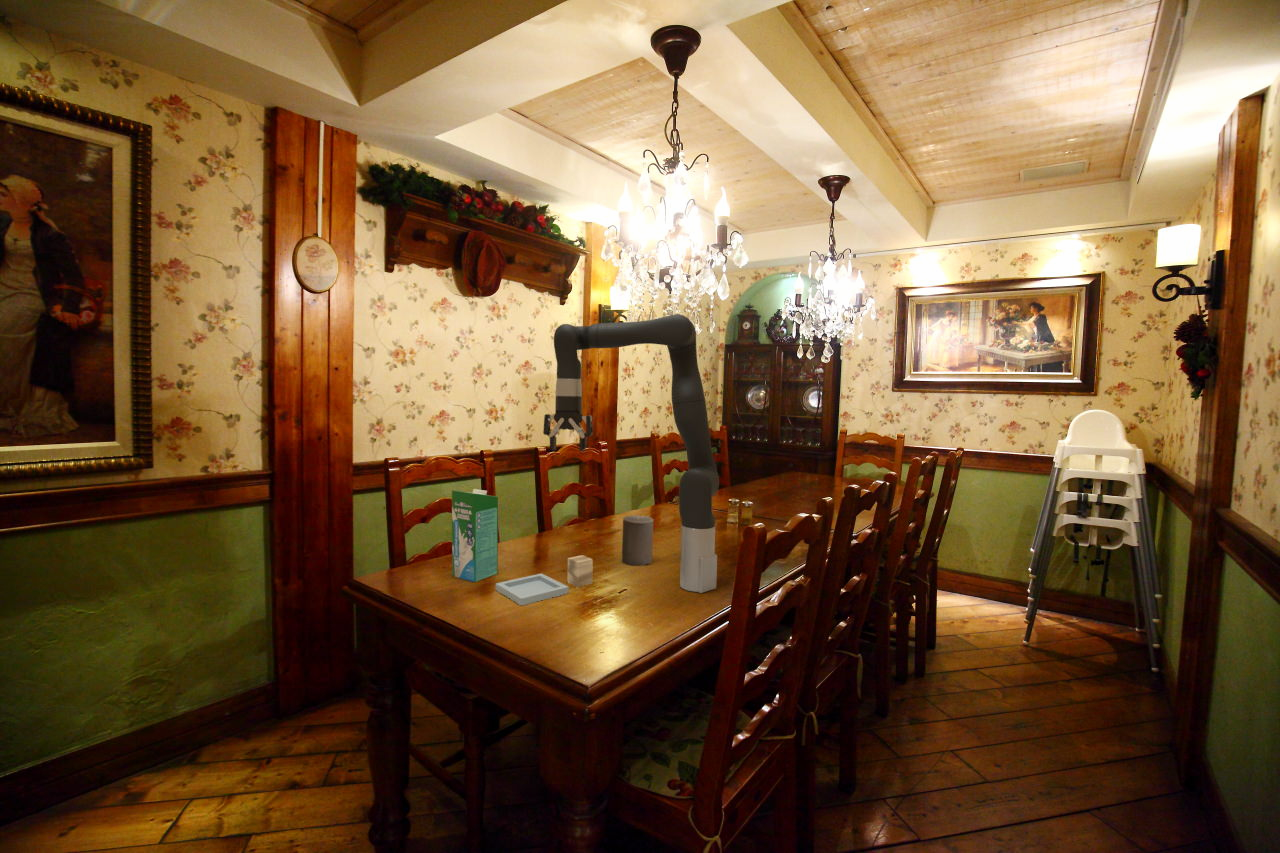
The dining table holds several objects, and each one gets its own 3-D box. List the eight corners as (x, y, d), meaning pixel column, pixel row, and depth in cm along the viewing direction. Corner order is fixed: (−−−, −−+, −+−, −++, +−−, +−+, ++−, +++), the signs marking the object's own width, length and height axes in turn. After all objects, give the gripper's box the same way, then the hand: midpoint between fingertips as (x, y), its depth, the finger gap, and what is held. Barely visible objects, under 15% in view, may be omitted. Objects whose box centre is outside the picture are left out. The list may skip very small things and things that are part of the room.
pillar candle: (617, 563, 178) (618, 516, 177) (627, 555, 188) (628, 510, 186) (647, 567, 175) (649, 519, 174) (655, 558, 185) (657, 512, 184)
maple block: (592, 583, 160) (592, 559, 159) (577, 587, 157) (577, 562, 156) (582, 579, 164) (582, 555, 163) (567, 582, 160) (567, 558, 160)
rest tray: (568, 593, 152) (568, 586, 152) (521, 605, 143) (521, 598, 143) (541, 579, 162) (541, 573, 162) (495, 590, 153) (495, 583, 153)
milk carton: (498, 573, 167) (498, 488, 165) (474, 582, 159) (474, 493, 158) (475, 568, 172) (475, 485, 170) (452, 576, 164) (451, 489, 162)
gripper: (595, 395, 168) (594, 450, 169) (549, 394, 171) (548, 448, 172) (589, 395, 161) (588, 452, 162) (540, 394, 163) (540, 450, 164)
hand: (567, 450), depth 167 cm, fingers open, 8 cm apart
